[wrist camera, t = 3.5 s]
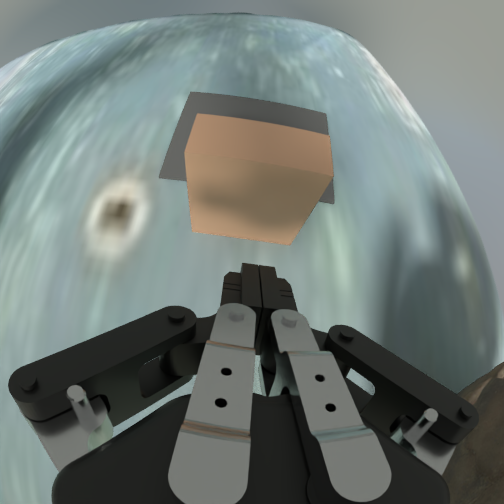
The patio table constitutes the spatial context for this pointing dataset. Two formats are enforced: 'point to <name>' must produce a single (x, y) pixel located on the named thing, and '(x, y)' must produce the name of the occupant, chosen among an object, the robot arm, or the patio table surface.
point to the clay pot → (480, 446)
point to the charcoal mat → (243, 110)
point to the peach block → (254, 177)
